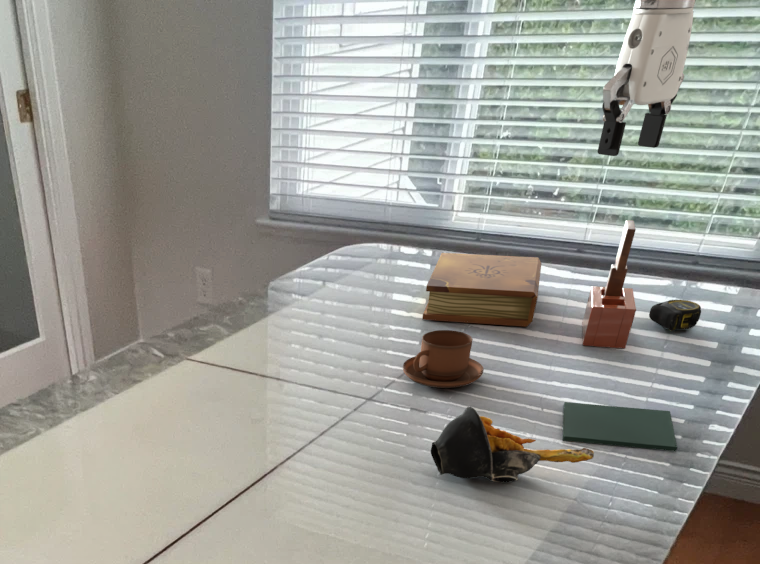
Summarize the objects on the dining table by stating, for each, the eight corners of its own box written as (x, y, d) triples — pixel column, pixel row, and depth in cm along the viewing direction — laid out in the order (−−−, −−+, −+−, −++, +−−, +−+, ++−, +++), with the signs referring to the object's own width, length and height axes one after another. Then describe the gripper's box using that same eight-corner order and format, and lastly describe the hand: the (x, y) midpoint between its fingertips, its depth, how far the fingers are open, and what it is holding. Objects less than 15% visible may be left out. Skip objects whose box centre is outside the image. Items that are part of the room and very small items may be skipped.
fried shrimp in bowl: (417, 423, 106) (558, 367, 104) (441, 506, 110) (578, 455, 107) (432, 424, 98) (586, 364, 95) (457, 515, 101) (607, 459, 98)
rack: (622, 326, 145) (632, 288, 141) (625, 348, 137) (636, 309, 133) (582, 323, 147) (591, 286, 143) (582, 345, 138) (592, 306, 134)
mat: (668, 415, 117) (670, 411, 117) (675, 451, 109) (677, 447, 108) (563, 405, 121) (564, 401, 120) (562, 440, 112) (563, 436, 112)
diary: (531, 328, 145) (538, 292, 141) (422, 320, 150) (426, 285, 146) (535, 289, 161) (542, 256, 158) (437, 284, 166) (441, 251, 162)
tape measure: (644, 323, 146) (650, 300, 143) (680, 319, 146) (687, 296, 144) (666, 336, 141) (673, 312, 138) (703, 332, 141) (711, 308, 139)
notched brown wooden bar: (609, 325, 145) (637, 220, 134) (610, 337, 141) (639, 229, 130) (594, 324, 146) (622, 219, 135) (595, 336, 142) (623, 228, 131)
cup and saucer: (460, 401, 123) (467, 357, 119) (387, 384, 128) (391, 342, 124) (494, 375, 130) (502, 333, 126) (423, 360, 135) (429, 320, 131)
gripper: (652, 2, 107) (613, 161, 119) (728, -5, 114) (684, 146, 126) (601, 2, 112) (569, 155, 123) (677, -5, 119) (640, 140, 130)
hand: (627, 150), depth 125 cm, fingers open, 9 cm apart
